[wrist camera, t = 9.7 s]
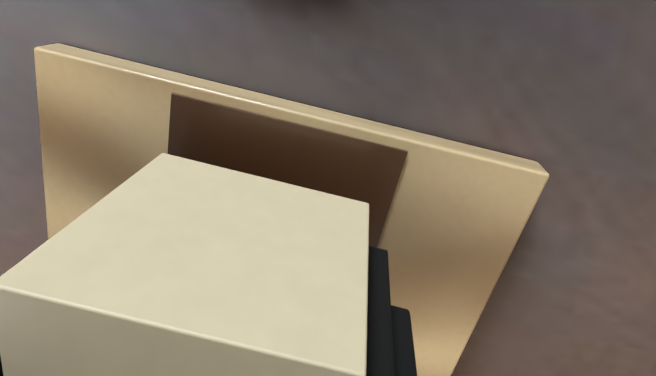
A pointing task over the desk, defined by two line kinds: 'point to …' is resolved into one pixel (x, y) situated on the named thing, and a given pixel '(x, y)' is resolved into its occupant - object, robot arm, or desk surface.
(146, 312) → the cream cube
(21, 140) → the desk surface
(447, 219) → the word board
